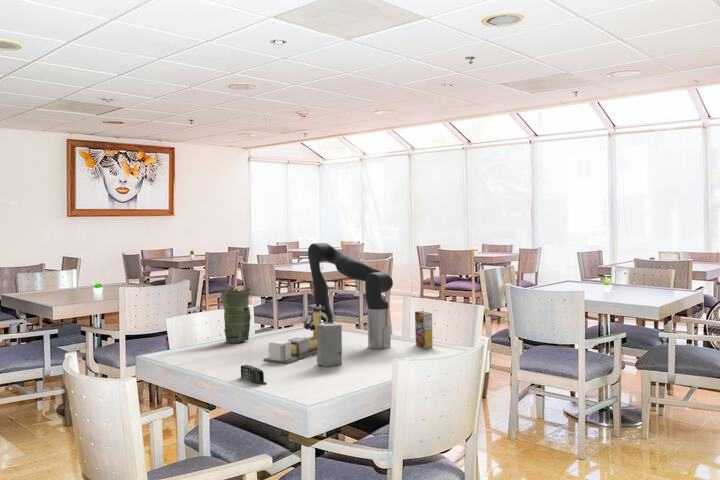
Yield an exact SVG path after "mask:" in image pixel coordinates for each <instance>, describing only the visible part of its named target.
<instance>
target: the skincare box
mask: <svg viewBox="0 0 720 480" xmlns="http://www.w3.org/2000/svg"><path fill="white" fill-rule="evenodd" d="M342 326H343V325H342V324H338V323H333V324H317V354H316V363H317V365H319V366H321V367H322V368H326V367H334V366H341V365H342V364H343V358H342V357H343V356H342V355H343V354H342V353H343V347H342V345H343V343H342V342H343V333H342V331H343V329H342V328H343V327H342Z"/></svg>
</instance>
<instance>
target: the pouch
mask: <svg viewBox="0 0 720 480" xmlns="http://www.w3.org/2000/svg"><path fill="white" fill-rule="evenodd" d="M251 291H252V288H246V289H240V290H238V288H236V289H234V290H232V289H224V290H222V291H220V293H221V295H220V298H221V299H220V300H221V302H222V305H223V310H224V313H223V315H224V317H223V318H224V330H223V331H224V336H225V342H226V343H231V344H238V343H243V342H245V341H246V342H247V341H249V335H250V330H251V329H250V328H251V327H250V326H251V320H252V319H251V318H252V316H251V308H250V306H249V296H250V292H251Z"/></svg>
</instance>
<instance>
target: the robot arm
mask: <svg viewBox="0 0 720 480" xmlns="http://www.w3.org/2000/svg"><path fill="white" fill-rule="evenodd" d="M307 257H308V263H309V267H310V268H309V269H310V273H311V278H312V283H313V299H314V304H316V305H318V306H322V307H324V308H321V324H334V322H333V320H334V315H333V312H332V309H331V306H330V301H329V288H328V283H327V281H326V279H325V277H324V275H323V273H322V272H321V265H320V263H322V262H327V263H330V264H332V265H334V266H335V269H336V270H337V272H339V274H341V275H343V276H345V277H346V278H350V279H353V280H357V281H361V282H365V283H364V286H365V287H364V288H365V300H366V301H365V302H366V304H367V347H368V349H369V348H370V349H381V350H382V349H387V348H389V347H391V345H392V344H391V342H392V341H391V340H392V339H391V335H392V334H391V333H392V332H391V325H390V322H389V319H390V317H389V314H390V313H389V308H390V307H389V302H388V301H387V300H384V299H383V297H382V293H386V292H388V291H390V290H391V289H392V288H393V286H394V282H393V281H394V280H393V278H392V277H391V275H390V274H389V273H387V272H386V271H383V270H381V269H377V268H374V267H372V266H369V265H368V264H366V263H365V262H362V261H360V260H359V259H357V258H354V257H352V256H350V255H348V254H346V253H345V252H342V251H340V250H338V249H337V248H335V247H334V246H332V245H331V244H329V243H326V242H318V243H317V242H315V243H311V244H310V245H309V246H308V250H307ZM311 311H312V312H311V315H310V316H311V319H310V321H309V322H308V321H307V322H306V321H303V328H304V329H306V330H309V331H311V332H313V310H311Z"/></svg>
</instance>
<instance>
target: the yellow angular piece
mask: <svg viewBox="0 0 720 480" xmlns="http://www.w3.org/2000/svg"><path fill="white" fill-rule="evenodd" d="M321 309H322V307H320V306H314V307H312V310H311V311H313V331H312V336H311V337H308V338H307V339H308V351H309V350H312V349H315V348H317V324H321ZM291 354H296V355H297V354H298V343H295V342H294V343H291Z"/></svg>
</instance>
